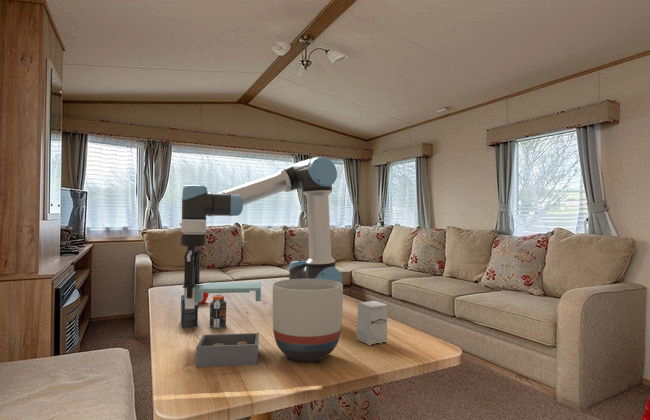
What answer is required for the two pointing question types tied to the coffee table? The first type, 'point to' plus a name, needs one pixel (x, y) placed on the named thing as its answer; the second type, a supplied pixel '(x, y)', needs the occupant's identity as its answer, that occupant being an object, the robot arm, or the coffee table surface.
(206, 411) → the coffee table surface
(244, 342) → the dowel
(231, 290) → the lid
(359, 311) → the supplement box
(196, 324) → the box
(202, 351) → the tub
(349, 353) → the coffee table surface
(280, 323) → the planter
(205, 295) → the apple
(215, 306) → the pill bottle
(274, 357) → the coffee table surface
